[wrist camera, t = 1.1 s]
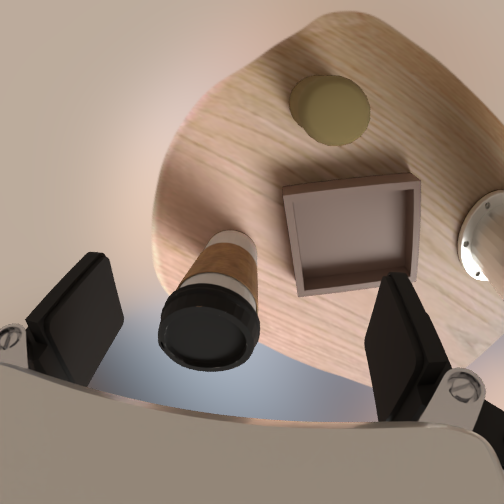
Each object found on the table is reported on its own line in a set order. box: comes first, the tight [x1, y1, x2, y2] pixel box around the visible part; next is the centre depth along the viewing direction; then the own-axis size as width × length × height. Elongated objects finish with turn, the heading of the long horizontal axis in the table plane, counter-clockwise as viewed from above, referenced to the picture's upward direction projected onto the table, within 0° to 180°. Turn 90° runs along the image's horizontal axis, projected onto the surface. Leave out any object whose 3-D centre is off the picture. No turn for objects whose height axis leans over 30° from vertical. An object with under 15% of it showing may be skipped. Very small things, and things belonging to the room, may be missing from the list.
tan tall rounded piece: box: [289, 75, 370, 146], centre depth 24 cm, size 6×6×11 cm
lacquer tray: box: [283, 173, 421, 297], centre depth 33 cm, size 14×12×3 cm
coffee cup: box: [158, 230, 260, 372], centre depth 31 cm, size 8×8×15 cm
